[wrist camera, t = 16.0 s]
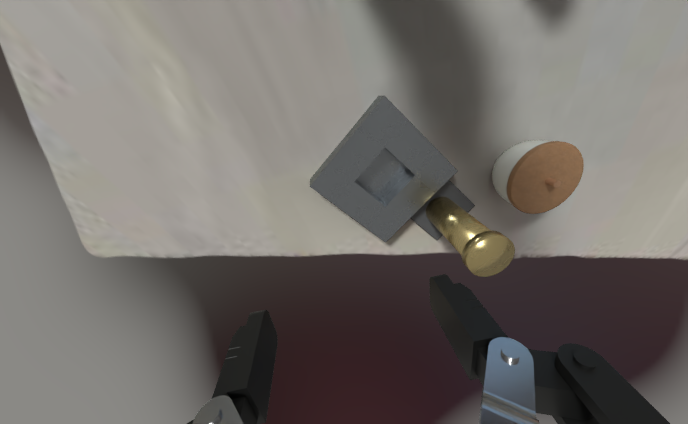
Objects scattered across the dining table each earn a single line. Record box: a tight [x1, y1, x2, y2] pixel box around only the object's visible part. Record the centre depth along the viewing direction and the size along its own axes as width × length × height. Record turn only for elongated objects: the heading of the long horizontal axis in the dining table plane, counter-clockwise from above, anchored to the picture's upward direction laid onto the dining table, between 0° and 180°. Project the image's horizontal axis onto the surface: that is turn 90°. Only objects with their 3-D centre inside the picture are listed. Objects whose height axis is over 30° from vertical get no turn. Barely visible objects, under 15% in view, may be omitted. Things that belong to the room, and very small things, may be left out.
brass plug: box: [426, 196, 515, 277], centre depth 38 cm, size 6×6×14 cm
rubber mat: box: [411, 180, 475, 240], centre depth 45 cm, size 9×9×1 cm
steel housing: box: [310, 96, 457, 242], centre depth 40 cm, size 16×16×4 cm
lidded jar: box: [492, 140, 583, 214], centre depth 39 cm, size 11×11×9 cm
